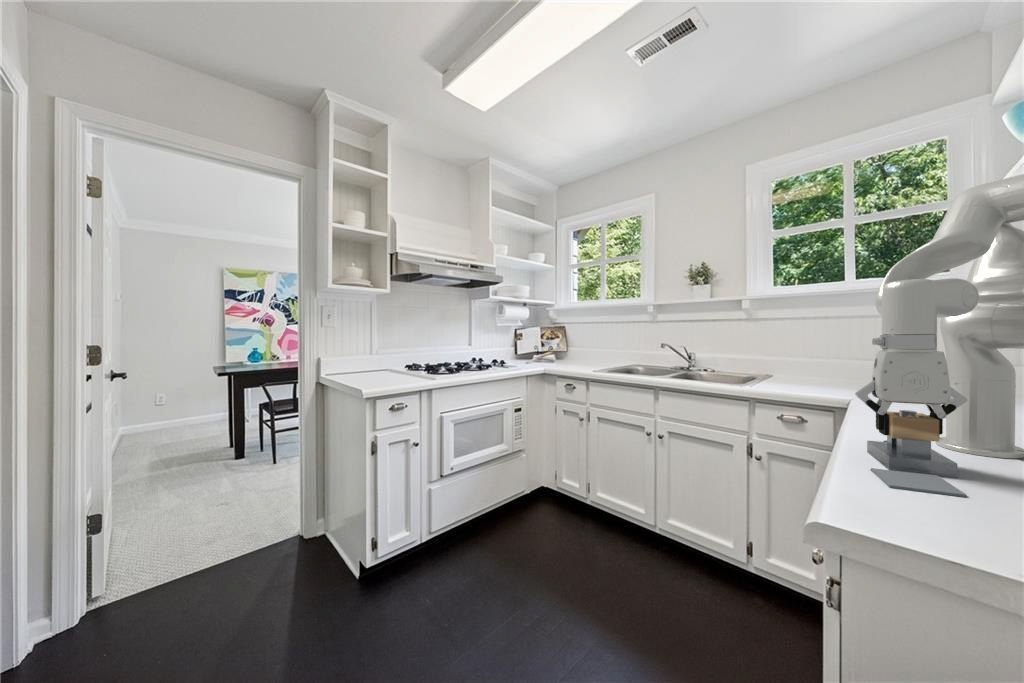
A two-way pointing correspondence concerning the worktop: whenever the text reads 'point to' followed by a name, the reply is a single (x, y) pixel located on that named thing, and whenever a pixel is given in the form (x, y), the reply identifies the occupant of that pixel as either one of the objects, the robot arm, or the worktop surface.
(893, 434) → the collar
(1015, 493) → the worktop surface
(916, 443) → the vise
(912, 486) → the mat
